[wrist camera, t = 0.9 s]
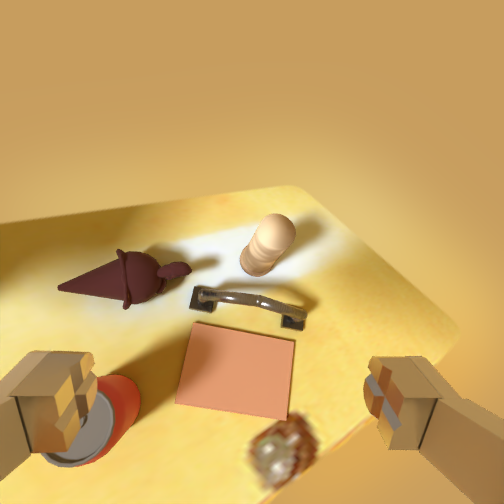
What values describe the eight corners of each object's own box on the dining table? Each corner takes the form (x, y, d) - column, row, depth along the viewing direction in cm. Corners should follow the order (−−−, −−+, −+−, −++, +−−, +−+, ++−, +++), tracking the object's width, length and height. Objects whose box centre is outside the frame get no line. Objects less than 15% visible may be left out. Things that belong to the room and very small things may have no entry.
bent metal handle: (188, 308, 39) (189, 298, 33) (194, 287, 41) (196, 273, 34) (300, 331, 42) (322, 325, 35) (302, 310, 43) (324, 301, 36)
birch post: (237, 272, 43) (253, 245, 33) (242, 241, 45) (260, 206, 35) (269, 279, 43) (295, 255, 33) (274, 249, 45) (300, 217, 35)
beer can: (121, 362, 36) (94, 362, 25) (152, 408, 35) (138, 429, 24) (68, 401, 33) (10, 421, 22) (99, 452, 32) (56, 499, 21)
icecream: (51, 324, 30) (197, 299, 35) (44, 252, 30) (189, 238, 36) (68, 317, 36) (189, 297, 42) (62, 258, 37) (182, 245, 42)
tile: (174, 402, 35) (174, 403, 35) (193, 323, 39) (193, 322, 38) (284, 419, 37) (286, 420, 37) (292, 342, 41) (294, 342, 40)
